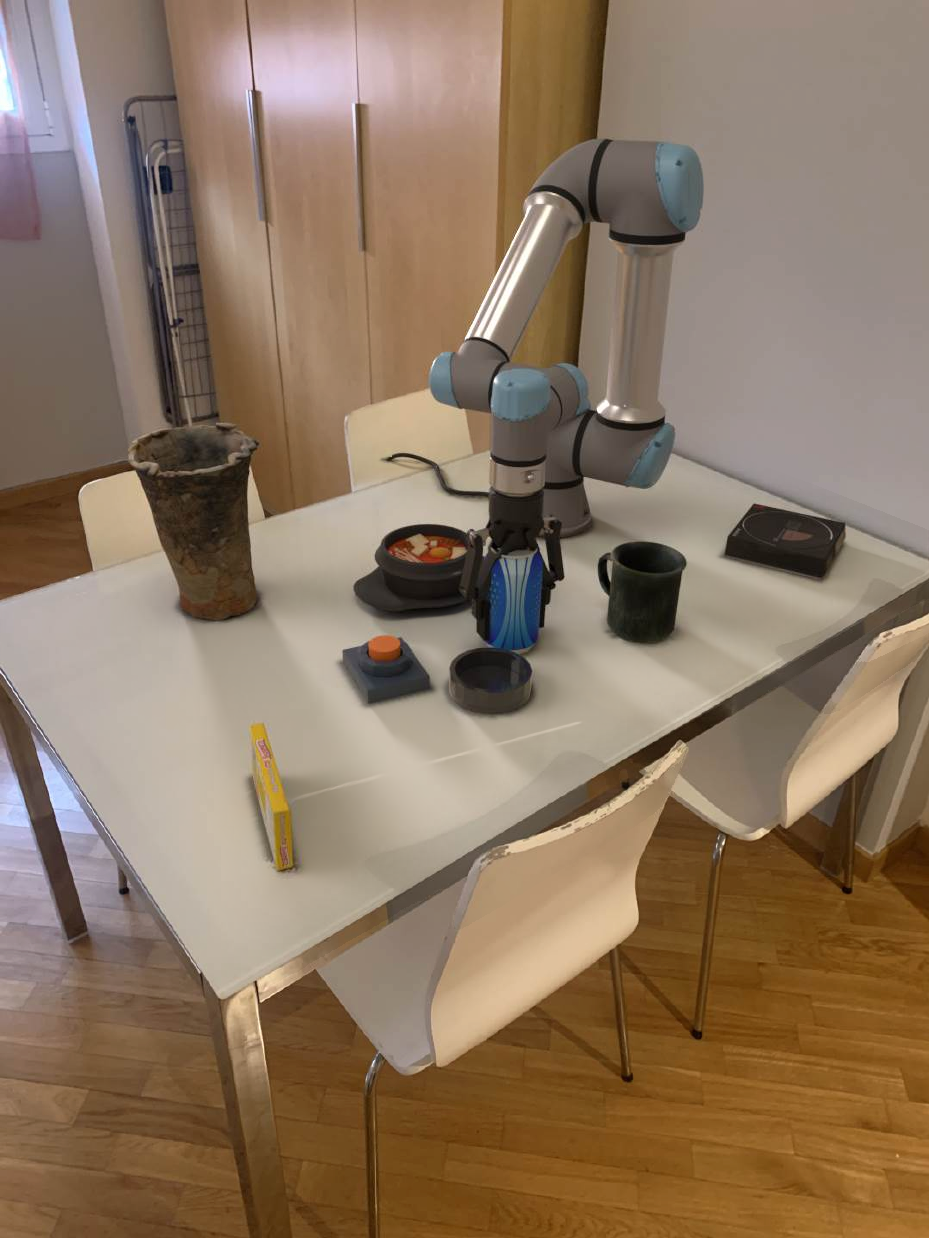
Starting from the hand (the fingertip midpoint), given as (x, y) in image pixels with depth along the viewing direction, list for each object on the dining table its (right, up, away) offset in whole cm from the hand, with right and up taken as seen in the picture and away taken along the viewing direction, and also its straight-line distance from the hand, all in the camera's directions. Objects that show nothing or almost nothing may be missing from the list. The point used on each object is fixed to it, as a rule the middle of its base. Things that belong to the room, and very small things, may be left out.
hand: (510, 629), depth 144 cm
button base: (-18, -6, -7) cm, 20 cm away
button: (-18, -3, -9) cm, 20 cm away
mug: (+19, +1, +7) cm, 20 cm away
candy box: (-29, -22, -32) cm, 48 cm away
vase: (-47, +4, +10) cm, 48 cm away
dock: (-3, -8, -9) cm, 13 cm away
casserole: (-13, +6, +15) cm, 21 cm away
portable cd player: (+50, +14, +29) cm, 60 cm away
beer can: (0, -2, +1) cm, 3 cm away
